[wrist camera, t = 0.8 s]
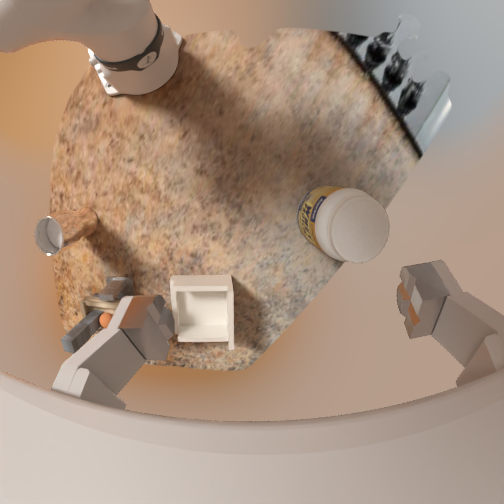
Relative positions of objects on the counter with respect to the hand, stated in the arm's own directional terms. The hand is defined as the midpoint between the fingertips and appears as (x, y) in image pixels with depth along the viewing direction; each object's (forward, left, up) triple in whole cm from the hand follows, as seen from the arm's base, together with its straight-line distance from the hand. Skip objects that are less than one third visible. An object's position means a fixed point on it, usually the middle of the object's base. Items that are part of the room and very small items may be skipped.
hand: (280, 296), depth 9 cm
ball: (+1, -32, -36) cm, 48 cm away
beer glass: (-17, -25, -46) cm, 55 cm away
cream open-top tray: (+13, -18, -45) cm, 50 cm away
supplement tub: (+14, +13, -46) cm, 50 cm away
